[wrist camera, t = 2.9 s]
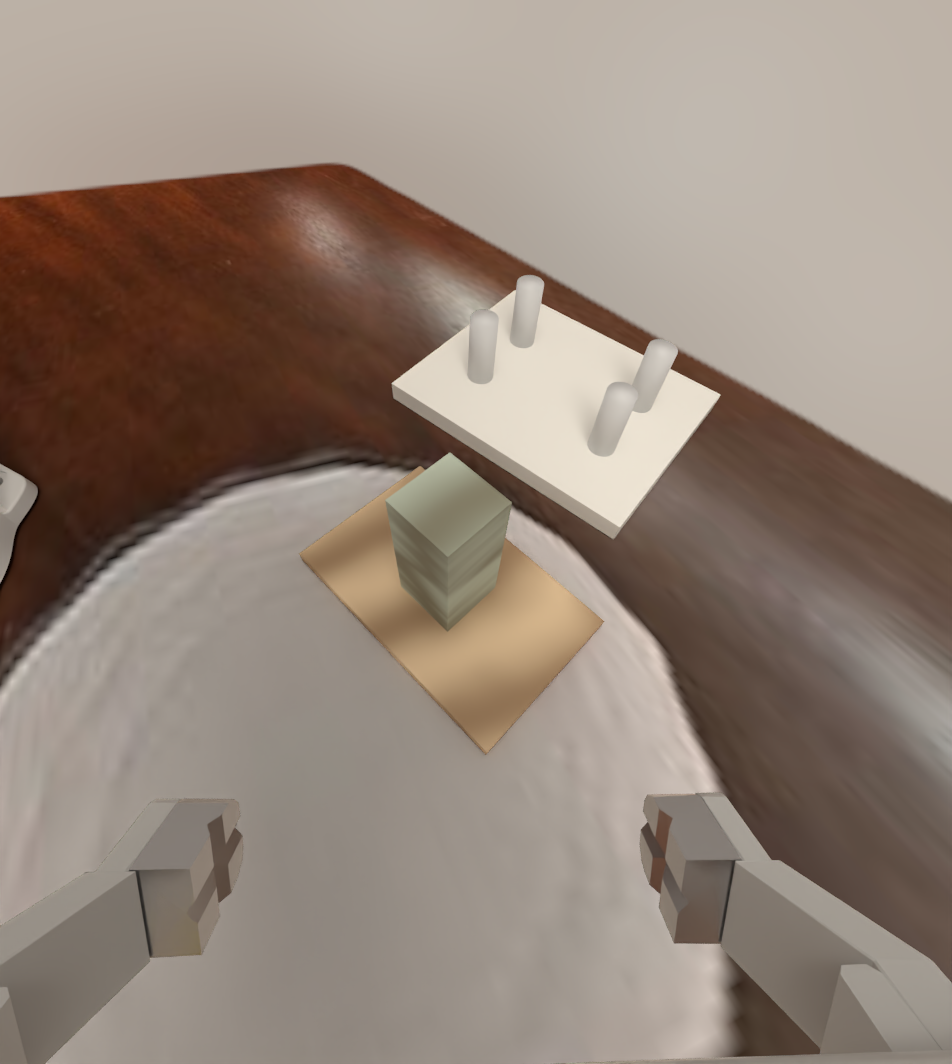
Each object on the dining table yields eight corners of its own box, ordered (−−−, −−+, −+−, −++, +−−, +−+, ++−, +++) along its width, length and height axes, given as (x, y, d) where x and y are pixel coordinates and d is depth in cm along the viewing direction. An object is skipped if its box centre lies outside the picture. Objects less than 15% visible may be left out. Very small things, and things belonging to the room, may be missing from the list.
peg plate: (393, 398, 39) (384, 325, 33) (512, 305, 46) (522, 232, 40) (613, 539, 33) (646, 480, 28) (711, 408, 40) (754, 340, 35)
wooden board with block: (303, 562, 32) (249, 459, 23) (420, 476, 36) (412, 360, 27) (485, 755, 26) (504, 717, 18) (598, 628, 30) (660, 545, 22)
